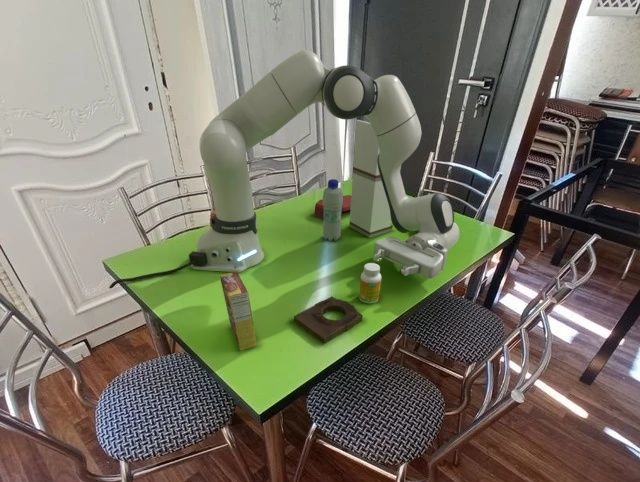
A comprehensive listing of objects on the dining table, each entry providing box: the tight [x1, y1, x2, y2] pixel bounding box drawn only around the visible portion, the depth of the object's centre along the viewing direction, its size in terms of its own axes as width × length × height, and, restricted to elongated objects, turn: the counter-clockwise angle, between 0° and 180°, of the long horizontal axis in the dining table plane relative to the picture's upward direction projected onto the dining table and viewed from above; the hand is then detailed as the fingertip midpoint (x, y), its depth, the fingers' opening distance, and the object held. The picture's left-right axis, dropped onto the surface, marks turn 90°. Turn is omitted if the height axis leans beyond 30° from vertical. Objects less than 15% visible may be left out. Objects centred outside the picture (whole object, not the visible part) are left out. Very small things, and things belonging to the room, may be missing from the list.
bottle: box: [321, 178, 344, 242], centre depth 121 cm, size 7×7×20 cm
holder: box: [293, 295, 364, 345], centre depth 90 cm, size 14×11×2 cm
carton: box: [313, 194, 352, 220], centre depth 147 cm, size 12×5×25 cm
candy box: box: [219, 272, 258, 352], centre depth 80 cm, size 9×4×15 cm, turn 24°
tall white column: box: [349, 119, 402, 239], centre depth 122 cm, size 11×11×35 cm
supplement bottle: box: [358, 262, 382, 304], centre depth 95 cm, size 5×5×10 cm
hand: (388, 265), depth 97 cm, fingers open, 8 cm apart
